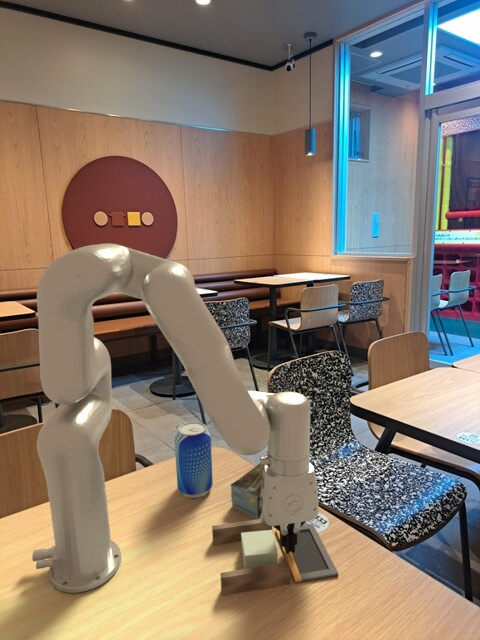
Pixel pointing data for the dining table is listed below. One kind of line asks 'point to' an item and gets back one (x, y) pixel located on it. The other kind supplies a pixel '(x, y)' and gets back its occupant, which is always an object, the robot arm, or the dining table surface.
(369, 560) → the dining table surface
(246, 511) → the beverage carton
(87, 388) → the robot arm
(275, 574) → the brown parallel walls
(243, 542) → the block
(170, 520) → the dining table surface
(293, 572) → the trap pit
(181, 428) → the beer can
